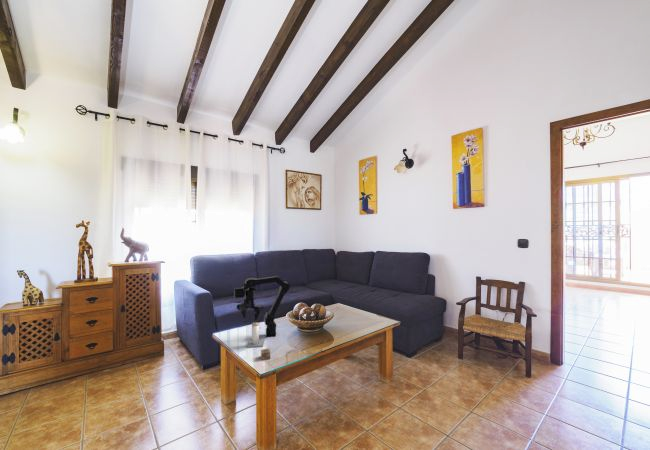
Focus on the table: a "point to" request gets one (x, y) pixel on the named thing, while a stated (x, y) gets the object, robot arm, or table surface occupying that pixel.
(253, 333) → the jar
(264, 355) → the walnut block
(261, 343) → the slate tile
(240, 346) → the table surface
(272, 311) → the robot arm
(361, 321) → the table surface
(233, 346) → the table surface
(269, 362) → the table surface
